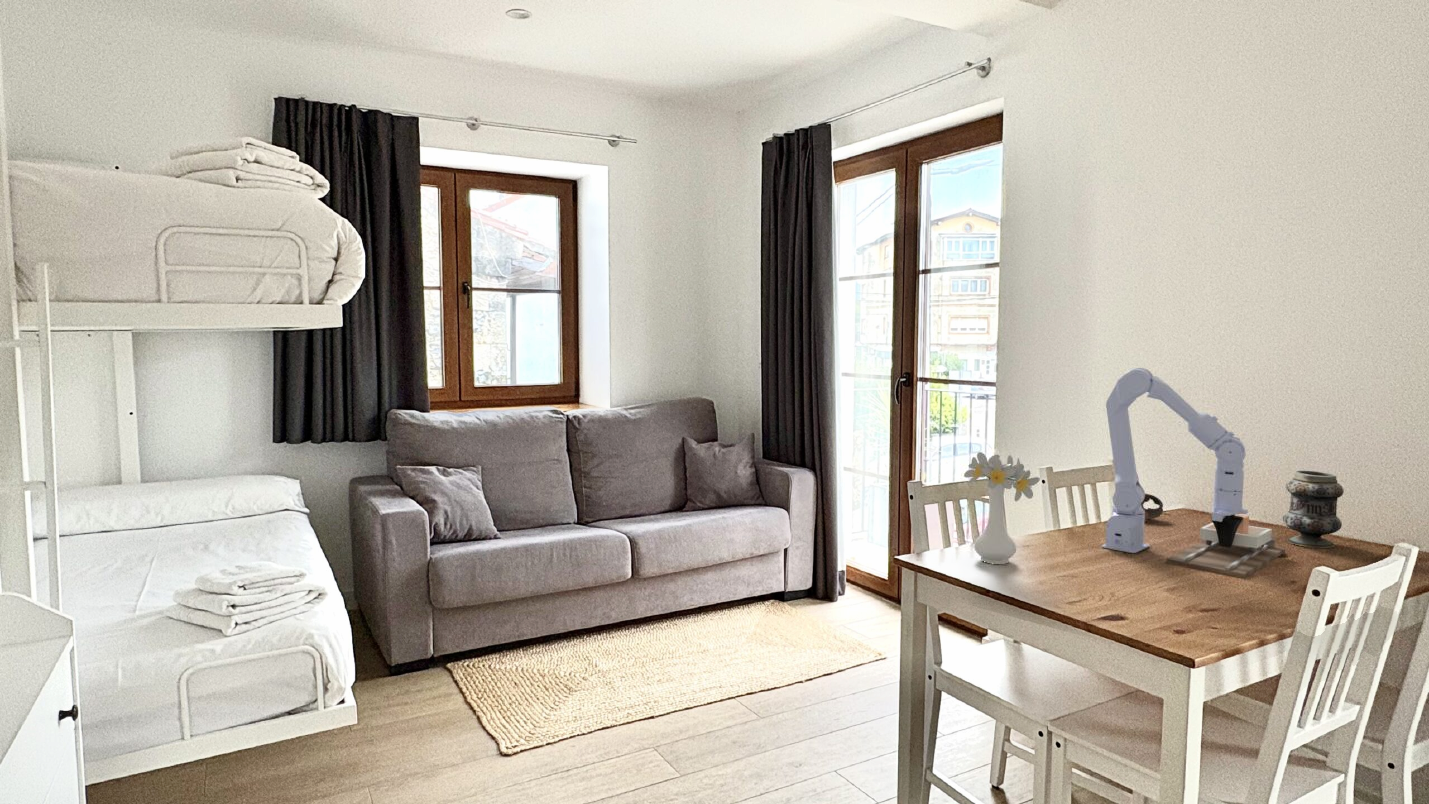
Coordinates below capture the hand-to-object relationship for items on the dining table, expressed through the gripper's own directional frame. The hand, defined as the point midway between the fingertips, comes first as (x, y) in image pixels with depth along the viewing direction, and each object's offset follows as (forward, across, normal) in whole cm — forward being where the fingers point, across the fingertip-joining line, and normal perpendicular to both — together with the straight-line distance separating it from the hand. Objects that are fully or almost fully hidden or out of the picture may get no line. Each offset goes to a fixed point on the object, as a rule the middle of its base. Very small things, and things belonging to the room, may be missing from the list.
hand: (1225, 546), depth 199 cm
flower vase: (+3, -41, +35) cm, 54 cm away
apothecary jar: (+3, +30, -10) cm, 32 cm away
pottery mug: (+3, +28, +30) cm, 41 cm away
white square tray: (+1, +7, 0) cm, 7 cm away
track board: (+3, +1, 0) cm, 3 cm away
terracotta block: (-1, +7, 0) cm, 7 cm away
